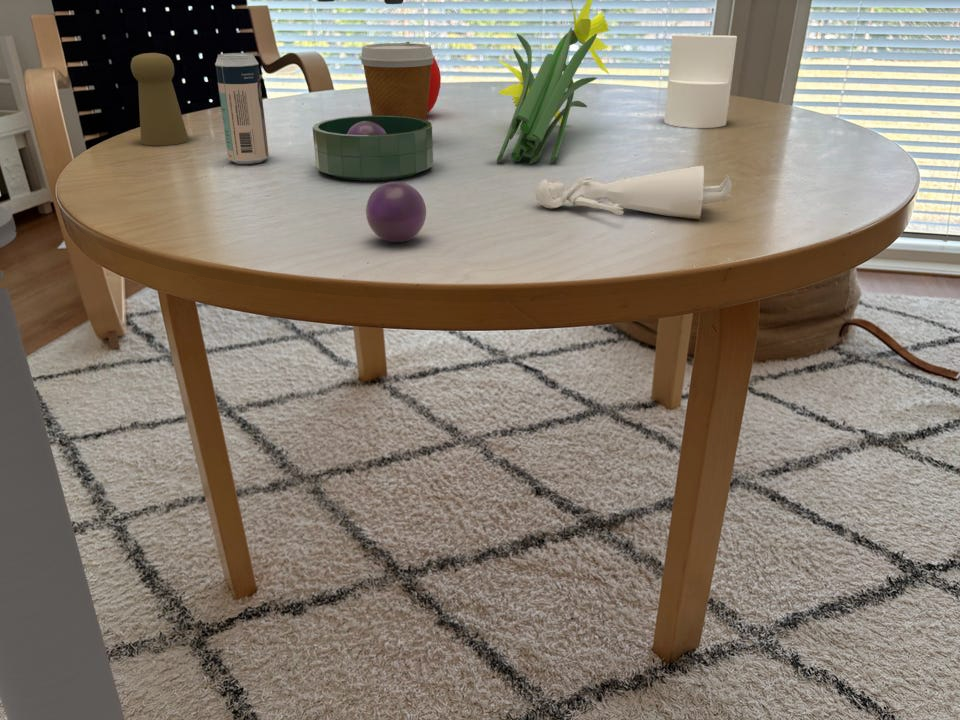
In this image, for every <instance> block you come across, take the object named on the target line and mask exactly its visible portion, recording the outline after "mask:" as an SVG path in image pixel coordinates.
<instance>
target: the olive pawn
mask: <svg viewBox="0 0 960 720" xmlns="http://www.w3.org/2000/svg"><path fill="white" fill-rule="evenodd" d="M130 70H131V73H132V75H133V77H134V78H135V80H136V81H137V83H138V84H137V86H138V107H139V108H138V109H139V129H140V131H139V132H140V143H141V144H142V145H145V146H158V147H159V146H171V145H172V146H173V145H180V144H183V143H186V142H188V141H190V139H189V136H188V132H187V129H186V125H185V122H184V119H183V115H182V112H181V108H180V103H179V101H178V98H177V94H176V91H175V87H174V84H173V81H172V80H173V78H174V76H175V65H174V62H173V60H172V58H171V57H170V56H168V55H167V54H163V53H159V52H148V53H147V52H146V53H145V52H144V53H140V54H138V55H135V56H133V57H132V59H131V61H130Z"/></svg>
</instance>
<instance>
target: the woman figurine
mask: <svg viewBox="0 0 960 720" xmlns="http://www.w3.org/2000/svg"><path fill="white" fill-rule="evenodd" d="M725 176H726V177H725V179H723V181H722V182H721V184H720V185H708V186H707V185H706V186H705V185H704V182H705V181H704V180H705V167H704V165H695V166H692V167H691V166H690V167H685V168H679V169H672V170H665V171H660V172H655V173H650V174H649V173H648V174H644V175H637V176H633V177H623V178H620V179H618V180H615V181H610V182H608V183H603V182H598V181H594V180H592V179H595V176H594V177H593V176H586V177H584V178H581V179H579V180H578V181H576V182H575V183H574V184H573V185H571V186H569V188H567V189H565V184H564V183H562V182H561V181H559V180H556V181H555V182H549V181H548V180H547V178H544V179H543V180H540V181H539V184H538V185H537V188H536V189H535V192H534V195H535V199H536V201H537V202H538V204H540V205H541V206H543V207H544V208H545V209H546V208H547V209H551V210H552V209H556V208H559V207H561V206H563V205H564V204H565V203H566V202H567V201H569V203H570V204H571V205H572V206H573V207H580V206H583V207H584V206H585V207H590V208H593V209H600V210H604V211H608V212H611V213H613V214H615V215H617V216H621V215H624V212H625V211H624V209H629V210H633V211H639V212H644V213H650V214H655V215H660V216H667V217H676V218H684V219H690V220H691V219H692V220H701V215H702V209H703V206H704V205H709V204H712V203H718V202H725V201H729V200H731V199H732V194H730V193H731V191H732V182H731V178H730V176H729V175H728V174H725ZM601 200H607V201H609V202H610V203H611V204H612V205H609V204H605V203H601V202H600V201H601Z"/></svg>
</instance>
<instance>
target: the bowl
mask: <svg viewBox="0 0 960 720" xmlns="http://www.w3.org/2000/svg"><path fill="white" fill-rule="evenodd" d="M362 121H371V122H374V123H376V124H378V125H380V126H381V127H382V128H383V129H384V130H385V131H386V133H387V134H383V135H348V134H347V132H348V131H349V129H350V128H351V127H352V126H353V125H355V124H356V123H359V122H362ZM312 139H313V148H314V159H315V160H314V161H315V167H316V169H317V170H318V171H319V172H320V173H321V172H322V173H325V174H328V175H330V176H332V177H335V178H338V179H342V180H350V181H360V182H361V181H362V182H363V181H364V182H365V181H366V182H367V181H368V182H369V181H370V182H373V181H374V182H375V181H377V182H378V181H392V180H398V179H404V178H405V179H406V178H408V177H412V176H415V175H417V174H419V173H422V172H423V171H427V170H428V169H430V168H431V167H433V165H434V149H433V148H434V143H433V142H434V141H433V123H432V122H431V121H429V120H424V119H420V118H415V117H406V116H390V115H372V114H369V115H354V116H344V117H335V118H331V119H326V120H325V119H324V120H322V121H319V122H316V123H315V124H314V125H313V126H312Z"/></svg>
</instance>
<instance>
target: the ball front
mask: <svg viewBox="0 0 960 720" xmlns="http://www.w3.org/2000/svg"><path fill="white" fill-rule="evenodd" d="M365 216H366V221H367V223H368V226H369V228H370V230H372V232H373V233H374V234H375V235H376V236H377V237H379V238H380V239H381V240H384V241H386V242H389V243H403V242H407V241H410V240H412V239H413V238H414V237H416V236H417V235H418V234H419V233H420V231H421V230H422V229H423V227H424V225H425V224H426V223H425V222H426V219H427V207H426V202H425V199H424V198H423V195H421V193H420V192H419V191H418V190H417V188H415V187H414V186H412V185H411V184H408V183H405V182H402V181H397V180H396V181H388V182H385V183H383V184H381V185H379V186H378V187H376V188H375V189H374V190H373V191H372V192H371V194H370V196H369V198H368V200H367V203H366V207H365Z"/></svg>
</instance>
